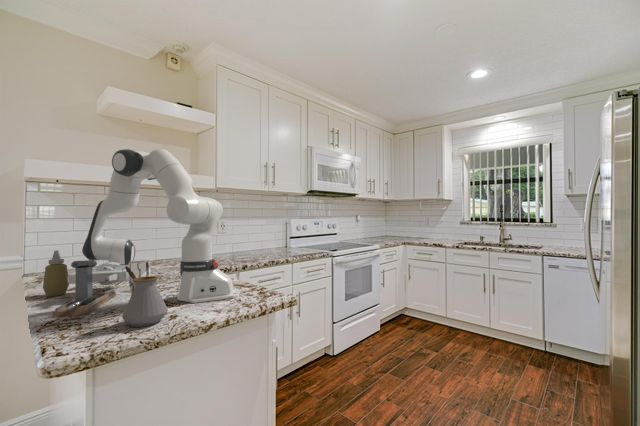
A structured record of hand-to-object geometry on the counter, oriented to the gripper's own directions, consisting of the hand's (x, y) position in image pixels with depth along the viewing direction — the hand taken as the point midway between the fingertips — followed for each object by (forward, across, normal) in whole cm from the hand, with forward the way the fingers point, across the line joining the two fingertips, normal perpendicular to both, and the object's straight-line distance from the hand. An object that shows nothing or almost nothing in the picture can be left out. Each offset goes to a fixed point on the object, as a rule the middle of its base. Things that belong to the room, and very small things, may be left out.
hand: (92, 279), depth 108 cm
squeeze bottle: (-19, -20, +8) cm, 29 cm away
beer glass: (+6, +17, +9) cm, 20 cm away
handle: (+9, 0, +7) cm, 11 cm away
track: (+3, 0, +8) cm, 9 cm away
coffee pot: (+25, +22, +9) cm, 34 cm away
